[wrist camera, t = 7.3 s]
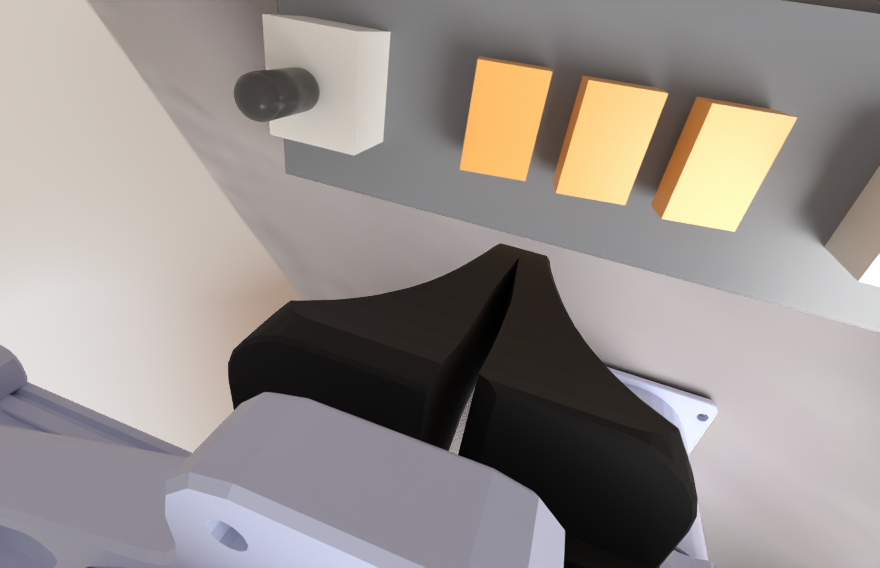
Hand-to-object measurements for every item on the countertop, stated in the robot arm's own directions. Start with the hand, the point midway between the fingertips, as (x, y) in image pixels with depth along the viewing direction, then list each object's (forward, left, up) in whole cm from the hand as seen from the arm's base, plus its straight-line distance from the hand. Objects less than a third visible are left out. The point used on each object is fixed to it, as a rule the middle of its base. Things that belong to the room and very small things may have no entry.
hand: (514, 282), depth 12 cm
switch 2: (+3, -5, -7) cm, 9 cm away
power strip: (+3, -1, -10) cm, 11 cm away
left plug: (+3, +9, -7) cm, 12 cm away
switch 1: (+3, +2, -7) cm, 8 cm away
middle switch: (+3, -1, -7) cm, 8 cm away
